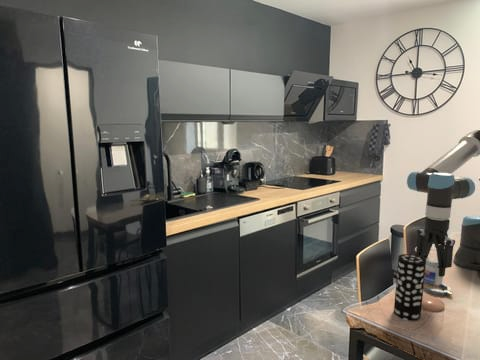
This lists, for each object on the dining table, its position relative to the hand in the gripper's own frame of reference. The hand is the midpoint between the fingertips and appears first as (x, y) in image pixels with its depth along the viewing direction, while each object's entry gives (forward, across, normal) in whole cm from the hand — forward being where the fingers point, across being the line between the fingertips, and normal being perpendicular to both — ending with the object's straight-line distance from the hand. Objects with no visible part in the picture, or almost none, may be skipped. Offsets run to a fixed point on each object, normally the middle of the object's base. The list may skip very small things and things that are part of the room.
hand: (430, 280), depth 125 cm
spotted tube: (+9, -3, +13) cm, 16 cm away
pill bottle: (+2, 0, 0) cm, 2 cm away
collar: (+9, +7, -12) cm, 17 cm away
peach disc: (+9, 0, 0) cm, 9 cm away
